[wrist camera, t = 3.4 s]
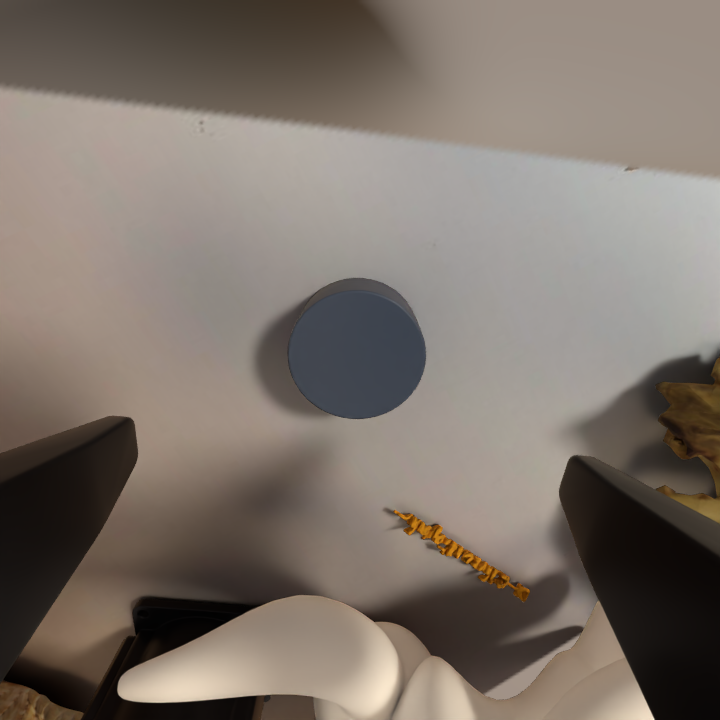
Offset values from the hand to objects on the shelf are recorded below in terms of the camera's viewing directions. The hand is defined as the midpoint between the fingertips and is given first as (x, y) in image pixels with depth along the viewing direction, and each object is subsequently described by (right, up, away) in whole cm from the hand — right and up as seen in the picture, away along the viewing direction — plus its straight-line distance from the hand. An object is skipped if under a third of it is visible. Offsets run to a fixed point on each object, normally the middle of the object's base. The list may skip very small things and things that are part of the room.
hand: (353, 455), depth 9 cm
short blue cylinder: (0, +3, +7) cm, 7 cm away
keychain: (+5, -6, +10) cm, 13 cm away
